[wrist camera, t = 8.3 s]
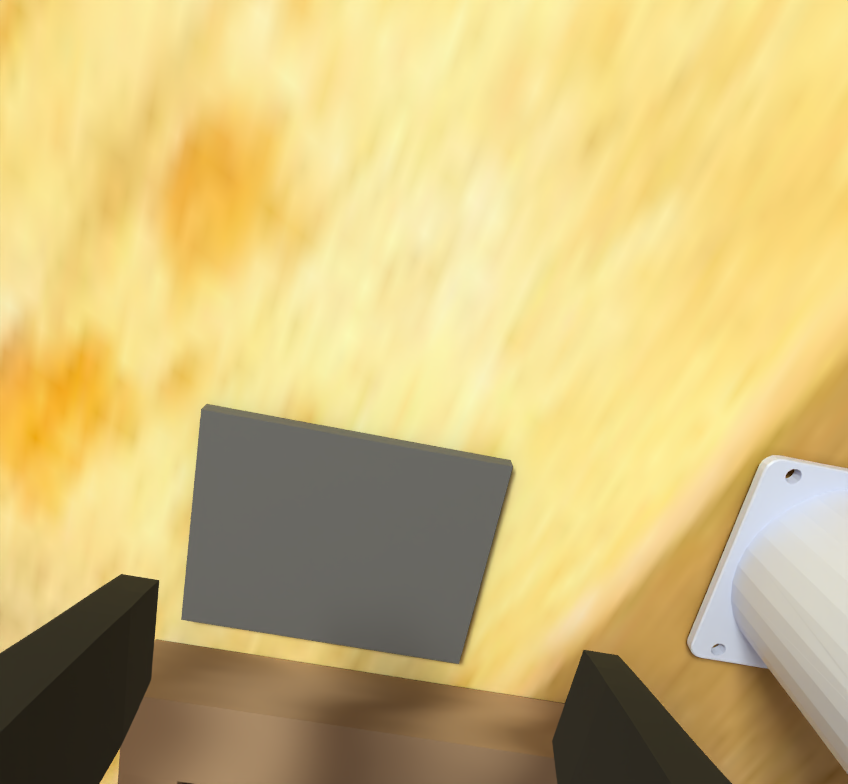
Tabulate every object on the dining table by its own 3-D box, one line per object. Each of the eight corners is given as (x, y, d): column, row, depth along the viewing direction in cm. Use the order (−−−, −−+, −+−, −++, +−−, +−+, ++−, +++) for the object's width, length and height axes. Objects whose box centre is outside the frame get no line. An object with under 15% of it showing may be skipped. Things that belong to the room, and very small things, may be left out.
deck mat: (510, 460, 20) (512, 466, 19) (458, 654, 22) (458, 663, 22) (206, 404, 19) (201, 409, 18) (186, 610, 21) (181, 619, 21)
